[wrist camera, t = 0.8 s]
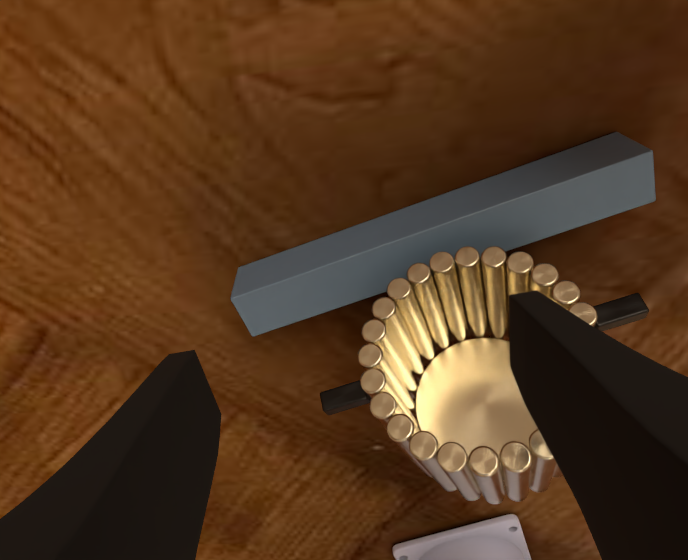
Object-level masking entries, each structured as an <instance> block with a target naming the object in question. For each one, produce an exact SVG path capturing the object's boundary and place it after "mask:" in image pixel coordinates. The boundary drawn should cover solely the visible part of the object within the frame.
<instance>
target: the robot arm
mask: <svg viewBox="0 0 688 560" xmlns="http://www.w3.org/2000/svg"><path fill="white" fill-rule="evenodd" d="M509 332H510V367H511V369H512V372H513V375H514V377H515V380H516V383H517V385H518V388H519V391H520V393H521V396H522V398H523V401H524V403H525V405H526V407H527V409H528V411H529V413H530V415H531V417H532V419H533V420H534V422H535V424H536V426H537V428H538V430H539V432H540V433H541V435H542V437H543V439H544V441H545V443H546V444H547V446H548V448H549V450H550V452H551V454H552V455H553V457H554V459H555V461H556V463H557V465H558V466H559V468H560V470H561V472H562V474H563V475H564V477H565V479H566V481H567V483H568V485H569V486H570V488H571V490H572V492H573V494H574V496H575V498H576V500H577V502H578V504H579V506H580V508H581V510H582V513H583V515H584V517H585V520H586V522H587V525H588V527H589V529H590V532H591V534H592V536H593V539H594V541H595V543H596V546H597V548H598V550H599V553H600V555H601V558H602V560H688V377H686V376H684V375H682V374H679V373H677V372H675V371H673V370H671V369H669V368H667V367H665V366H663V365H661V364H659V363H657V362H655V361H653V360H651V359H649V358H647V357H646V356H644V355H642V354H640V353H638V352H636V351H634V350H632V349H631V348H629V347H627V346H625V345H624V344H622V343H620V342H618V341H617V340H615V339H613V338H611V337H610V336H608V335H606V334H605V333H603V332H601V331H600V330H598V329H596V328H595V327H593V326H592V325H590V324H588V323H587V322H585V321H584V320H582V319H580V318H579V317H577V316H576V315H574V314H573V313H571V312H570V311H568V310H566V309H565V308H563V307H562V306H560V305H559V304H557V303H556V302H554V301H553V300H551V299H550V298H548V297H547V296H545V295H543V294H542V293H540V292H538V291H537V290H535V291H529V292H524V293H518V294H512V295H509ZM220 423H221V413H220V410H219V408H218V405H217V403H216V400H215V398H214V396H213V393H212V391H211V388H210V386H209V384H208V381H207V379H206V376H205V374H204V372H203V369H202V367H201V364H200V362H199V359H198V357H197V355H196V352H195V350H191V351H186V352H180V353H174V354H169V355H168V356H167V357H166V358H165V359H164V360H163V361H162V362H161V363H160V364H159V365H158V366H157V367H156V368H155V370H154V371H153V372H152V373H151V374H150V375H149V376H148V377H147V378H146V380H145V381H144V382H143V383H142V384H141V385H140V386H139V387H138V389H137V390H136V391H135V392H134V393H133V394H132V395H131V396H130V398H129V399H128V400H127V401H126V402H125V403H124V404H123V405H122V406H121V407H120V409H119V410H118V411H117V412H116V413H115V414H114V415H113V416H112V417H111V418H110V420H109V421H108V422H107V423H106V424H105V425H104V426H103V427H102V428H101V429H100V430H99V431H98V432H97V433H96V434H95V435H94V436H93V437H92V438H91V439H90V440H89V441H88V442H87V443H86V444H85V445H84V446H83V447H82V448H81V449H80V450H79V451H78V452H77V453H76V454H75V455H74V456H73V457H72V458H71V459H70V460H69V461H68V462H67V463H66V464H65V465H64V466H63V467H62V468H60V469H59V470H58V471H57V472H56V473H55V474H54V475H53V476H52V477H51V478H49V479H48V480H47V481H46V482H45V483H44V484H43V485H41V486H40V487H39V488H38V489H37V490H36V491H35V492H33V493H32V494H31V495H30V496H29V497H27V498H26V499H25V500H24V501H23V502H21V503H20V504H19V505H18V506H16V507H15V508H14V509H12V510H11V511H10V512H9V513H7V514H6V515H5V516H4V517H2V518H1V519H0V560H195V558H196V552H197V547H198V543H199V538H200V534H201V529H202V525H203V520H204V516H205V512H206V507H207V503H208V498H209V494H210V489H211V485H212V480H213V475H214V471H215V466H216V461H217V456H218V448H219V437H220ZM392 550H393V555H394V557H395V559H396V560H531V557H530V554H529V551H528V548H527V544H526V541H525V538H524V535H523V532H522V529H521V525H520V522H519V520H518V517H517V516H516V515H514V514H508V515H504V516H500V517H496V518H493V519H489V520H485V521H481V522H477V523H474V524H470V525H466V526H462V527H459V528H455V529H451V530H447V531H444V532H440V533H436V534H432V535H429V536H425V537H421V538H417V539H414V540H410V541H406V542H402V543H399V544H396V545H395V546H393V548H392Z"/></svg>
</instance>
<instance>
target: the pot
mask: <svg viewBox="0 0 688 560" xmlns="http://www.w3.org/2000/svg"><path fill="white" fill-rule="evenodd" d="M454 260H455V262H454ZM455 265H456V266H455ZM429 266H430V267H429ZM429 266H428V265H426V264H424V263H420V262H419V263H414V264H412V265H411V266H410V267H409V268H408V270H407V273H406V276H407V279H408V280H407V279H405V278H395V279H393V280H392V281H390V283H389V284H388V286H387V294H388V296H389V297H381V298H379V299H377V300H376V301H375V302H374V303H373V305H372V314H373V316H374V317H375V319H371V320H369V321H367V322H366V323H365V324H364V325H363V327H362V331H361V332H362V337H363V338H364V340H365V341H366V343H367V344H365V345H364V346H362V347H361V348H360V350H359V352H358V361H359V363H360V364H361V366H362V367H363V368H364V370H365V372H364V373H363V374H362V376H361V378H360V380H359V381H356V382H353V383H349V384H346V385H343V386H340V387H337V388H334V389H330V390H327V391H324V392H321V393H320V397H321V403H322V408H323V411H324V412H325V413H326V414H327V415H332V414H335V413H338V412H341V411H345V410H348V409H351V408H354V407H358V406H361V405H364V404H367V403H370V411H371V413H372V415H373V416H374V417H375V418H376V419H377V420H378V421H379V422H380V423H381V424H382V425H383V426H384V427H385V429H386V431H387V434H388V436H389V437H390V439H391V440H392V441H393V442H394V443H395V444H396V445H397V446H398V447H399V448H400V449H401V450H402V451H403V452H404V453H405V454H406V455H407V456H408V457H409V458H410V459H411V460H412V461H413V462H414V463H415V464H416V465H417V466H418V467H419V469H420V470H421V471H422V472H423V473H424V474H425V475H427V476H429V477H433V478H434V479H435V480H436V481H437V483H438V484H439V485H440V486H441V487H442V488H443V489H444V490H446V491H454V490H456V489H458V491H459V492H460V493H461V495H462V496H463V497H464V498H465V499H467V500H469V501H474V500H477V499H478V498H479V497H480V496H481V494H483V496H484V498H485V499H486V501H488V502H489V503H491V504H499V503H501V502H502V501H503V500H504V498H505V494H506V493H507V495H508V497H509V498H510V499H512V500H514V501H523V500H525V499H526V498H527V496H528V494H529V487H530V488H531V489H532V490H533V491H535V492H544V491H546V490H547V489H548V488H549V485H550V482H551V479H552V477H562V476H563V474H562V472H561V470H560V468H559V466H558V465H557V463H556V461H555V459H554V457H553V455H552V454H551V452H550V450H549V448H548V446H547V444H546V443H545V441H544V439H543V437H542V435H541V433H540V432H539V430H538V428H537V426H536V424H535V422H534V420H533V419H532V417H531V415H530V413H529V411H528V409H527V407H526V405H525V403H524V401H523V398H522V396H521V393H520V391H519V388H518V385H517V383H516V380H515V377H514V375H513V372H512V369H511V367H510V341H507V340H508V339H509V337H510V332H509V295H512V294H518V293H524V292H529V291H535V290H537V291H538V292H540V293H542V294H543V295H545V296H547V297H548V298H550V299H551V300H553V301H554V302H556V303H557V304H559V305H560V306H562V307H563V308H565V309H566V310H568V311H570V312H571V313H573V314H574V315H576V316H577V317H579V318H580V319H582V320H584V321H585V322H587V323H588V324H590V325H592V326H593V327H595V328H596V329H598V330H600V331H605V330H608V329H611V328H614V327H618V326H621V325H624V324H627V323H631V322H634V321H637V320H640V319H644V318H645V317H646V316H647V314H648V312H649V309H648V307H647V306H646V304H645V303H644V301H643V299H642V298H641V296H640V294H639V293H635V294H632V295H628V296H625V297H622V298H619V299H616V300H613V301H609V302H606V303H603V304H600V305H597V306H594V307H593V306H592V305H590V304H588V303H585V302H579V301H580V297H581V290H580V288H579V287H578V285H577V284H575V283H574V282H572V281H568V280H563V281H559V282H558V280H559V272H558V270H557V269H556V267H554V266H553V265H551V264H548V263H541V264H538V265H536V266H535V267H534V260H533V258H532V256H531V255H530V254H528V253H526V252H523V251H518V252H514V253H512V254H511V255H510V256H509V257H508V258H507V254H506V252H505V250H504V249H502V248H501V247H498V246H490V247H487V248H486V249H484V250H483V252H482V253H481V257H480V254H479V251H478V250H477V249H475V248H474V247H471V246H464V247H461V248H460V249H458V250H457V252H456V253H455V256H454V258H453V256H452V255H451V254H450V253H448V252H445V251H440V252H437V253H435V254H434V255H432V257H431V258H430V260H429ZM456 269H457V271H456ZM457 274H458V276H457ZM458 279H459V280H458ZM459 284H460V285H459ZM460 288H461V290H460ZM484 290H485V291H484ZM461 293H462V295H461ZM462 298H463V299H462ZM485 298H486V299H485ZM463 303H464V304H463ZM486 306H487V307H486ZM464 307H465V309H464ZM465 312H466V314H465ZM466 317H467V318H466ZM467 322H468V323H467ZM468 326H469V328H468ZM469 331H470V332H469ZM470 335H471V337H472V339H470ZM489 335H490V336H491V338H490V337H489ZM452 342H453V343H454V344H453V345H452ZM436 351H437V352H438V353H439V354H438V355H437V352H436ZM424 365H426V366H427V367H426V368H425V366H424ZM416 381H419V383H418V384H417V382H416ZM413 398H415V402H414V401H413ZM415 414H416V419H417V421H416V419H415V418H414V416H415ZM503 480H504V481H503ZM504 485H505V487H504ZM505 490H506V493H505Z"/></svg>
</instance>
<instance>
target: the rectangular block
mask: <svg viewBox="0 0 688 560" xmlns="http://www.w3.org/2000/svg"><path fill="white" fill-rule="evenodd" d="M655 200H656V197H655V179H654V162H653V151H652V150H651V149H649V148H647V147H645V146H643V145H641V144H639V143H637V142H635V141H633V140H631V139H630V138H628V137H626V136H624V135H622V134H620V133H618V132H615V133H612V134H609V135H606V136H603V137H601V138H598V139H595V140H592V141H590V142H587V143H584V144H581V145H578V146H576V147H573V148H570V149H567V150H564V151H562V152H559V153H556V154H553V155H551V156H548V157H545V158H542V159H539V160H537V161H534V162H531V163H528V164H525V165H523V166H520V167H517V168H514V169H512V170H509V171H506V172H503V173H500V174H498V175H495V176H492V177H489V178H486V179H484V180H481V181H478V182H475V183H473V184H470V185H467V186H464V187H461V188H459V189H456V190H453V191H450V192H447V193H445V194H442V195H439V196H436V197H434V198H431V199H428V200H425V201H422V202H420V203H417V204H414V205H411V206H408V207H406V208H403V209H400V210H397V211H395V212H392V213H389V214H386V215H383V216H381V217H378V218H375V219H372V220H369V221H367V222H364V223H361V224H358V225H356V226H353V227H350V228H347V229H344V230H342V231H339V232H336V233H333V234H330V235H328V236H325V237H322V238H319V239H316V240H314V241H311V242H308V243H305V244H303V245H300V246H297V247H294V248H291V249H289V250H286V251H283V252H280V253H277V254H275V255H272V256H269V257H266V258H264V259H261V260H258V261H255V262H252V263H250V264H247V265H244V266H241V267H239V268H238V271H237V275H236V278H235V282H234V286H233V290H232V294H231V298H230V299H231V301H232V303H233V304H234V306H235V308H236V310H237V311H238V313H239V315H240V316H241V318H242V320H243V322H244V323H245V325H246V327H247V328H248V330H249V332H250V334H251V335H252V337H254V336H257V335H260V334H262V333H265V332H268V331H271V330H274V329H277V328H280V327H283V326H286V325H289V324H292V323H295V322H298V321H301V320H304V319H307V318H310V317H313V316H316V315H319V314H322V313H325V312H328V311H331V310H334V309H337V308H340V307H343V306H345V305H348V304H351V303H354V302H357V301H360V300H363V299H366V298H369V297H372V296H375V295H378V294H381V293H384V292H387V286H388V284H389V283H390V281H392V280H393V279H395V278H405V279H407V276H406V273H407V270H408V268H409V267H410V266H411V265H412V264H414V263H419V262H420V263H424V264H426V265H428V266H429V260H430V258H431V257H432V255H434V254H435V253H437V252H440V251H445V252H448V253H450V254H451V255H452V256H453V258H454V256H455V253H456V252H457V250H458V249H460V248H461V247H464V246H471V247H474V248H475V249H477V250H478V251H479V254H480V257H481V253H482V252H483V250H484V249H486V248H487V247H490V246H498V247H501V248H502V249H504V250H505V252H506V251H508V250H511V249H514V248H517V247H520V246H523V245H526V244H529V243H532V242H535V241H538V240H541V239H544V238H547V237H550V236H553V235H556V234H559V233H562V232H565V231H568V230H571V229H574V228H577V227H580V226H583V225H586V224H588V223H591V222H594V221H597V220H600V219H603V218H606V217H609V216H612V215H615V214H618V213H621V212H624V211H627V210H630V209H633V208H636V207H639V206H642V205H645V204H648V203H651V202H654V201H655ZM454 262H455V260H454ZM455 266H456V265H455ZM429 267H430V266H429ZM407 280H408V279H407Z"/></svg>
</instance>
